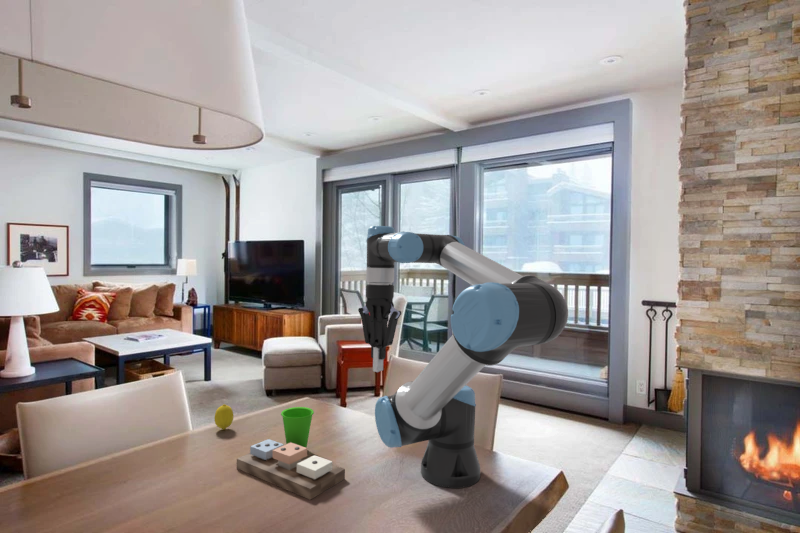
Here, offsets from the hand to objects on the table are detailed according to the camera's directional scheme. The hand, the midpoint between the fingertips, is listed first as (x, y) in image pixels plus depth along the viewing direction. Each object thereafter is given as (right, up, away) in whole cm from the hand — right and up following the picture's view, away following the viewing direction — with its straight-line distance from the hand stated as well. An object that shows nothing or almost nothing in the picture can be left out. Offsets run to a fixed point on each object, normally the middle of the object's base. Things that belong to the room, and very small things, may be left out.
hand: (377, 370), depth 123 cm
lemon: (-49, -23, +19) cm, 58 cm away
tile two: (-22, -22, -8) cm, 32 cm away
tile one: (-15, -24, -13) cm, 31 cm away
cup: (-23, -24, +5) cm, 34 cm away
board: (-22, -24, -8) cm, 34 cm away
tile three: (-29, -23, -4) cm, 37 cm away
